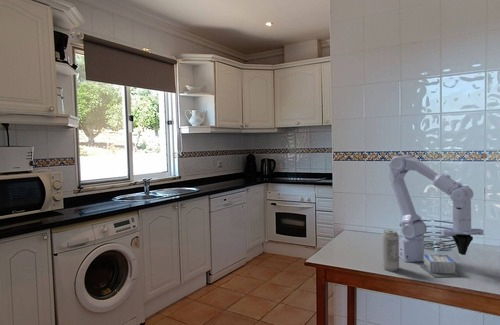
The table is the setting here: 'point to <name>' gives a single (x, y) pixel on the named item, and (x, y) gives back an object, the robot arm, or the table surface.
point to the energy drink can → (390, 250)
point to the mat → (438, 275)
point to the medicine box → (439, 264)
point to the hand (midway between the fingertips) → (462, 253)
